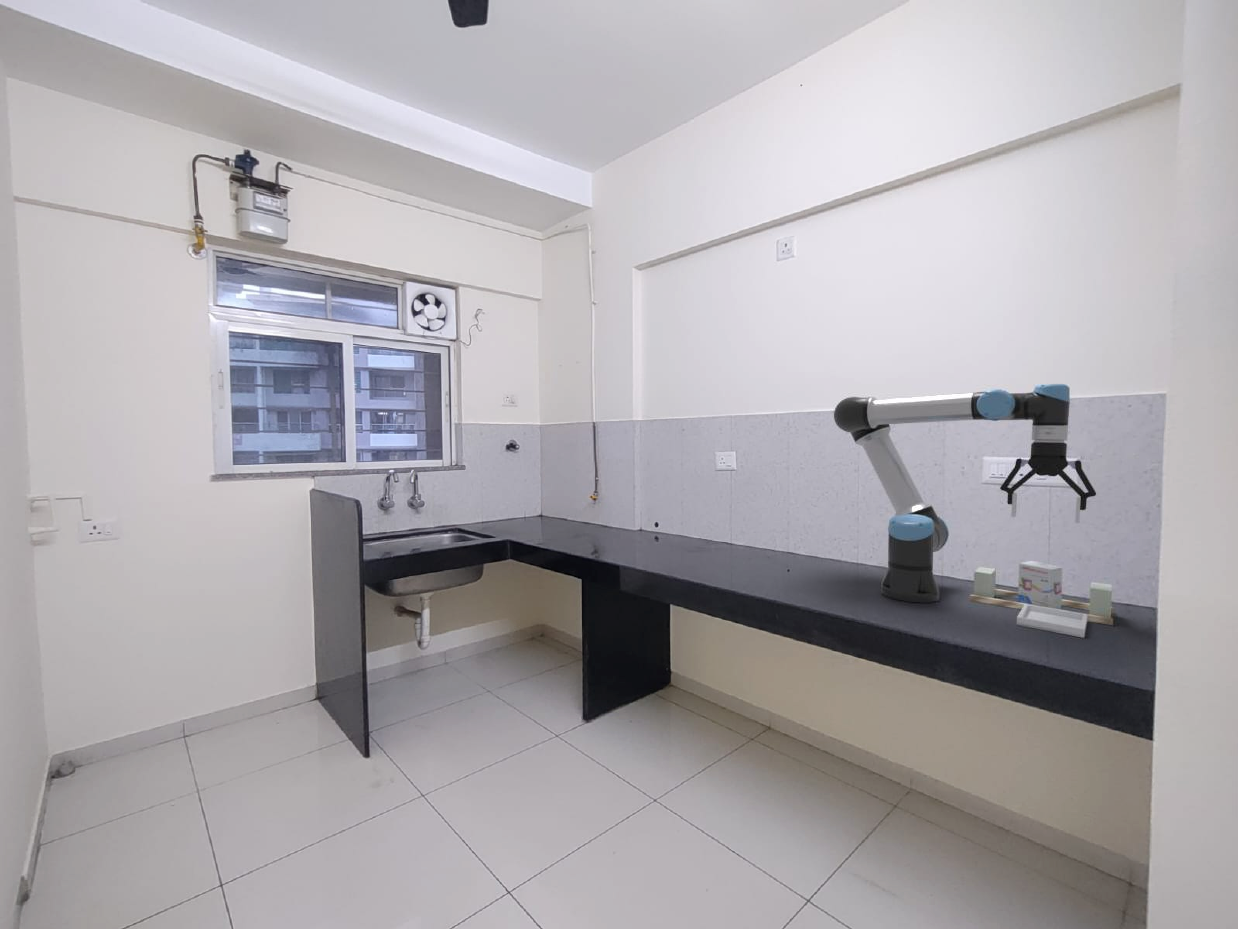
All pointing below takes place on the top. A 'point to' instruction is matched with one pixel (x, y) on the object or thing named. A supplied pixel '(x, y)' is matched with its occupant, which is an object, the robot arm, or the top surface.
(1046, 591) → the ink box
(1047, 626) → the tray
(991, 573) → the block
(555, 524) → the top surface
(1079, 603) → the rail rack
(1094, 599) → the block
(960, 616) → the top surface
